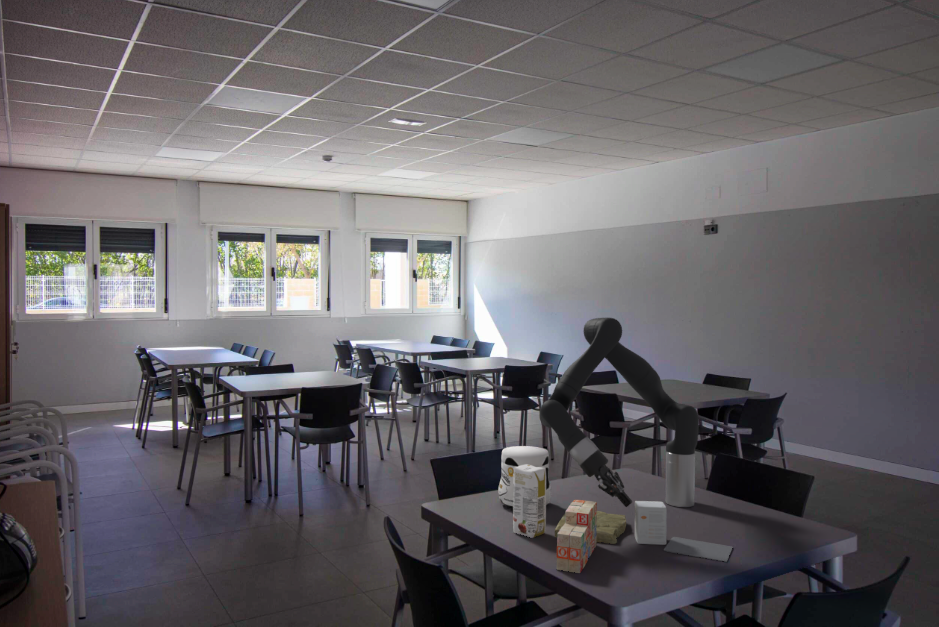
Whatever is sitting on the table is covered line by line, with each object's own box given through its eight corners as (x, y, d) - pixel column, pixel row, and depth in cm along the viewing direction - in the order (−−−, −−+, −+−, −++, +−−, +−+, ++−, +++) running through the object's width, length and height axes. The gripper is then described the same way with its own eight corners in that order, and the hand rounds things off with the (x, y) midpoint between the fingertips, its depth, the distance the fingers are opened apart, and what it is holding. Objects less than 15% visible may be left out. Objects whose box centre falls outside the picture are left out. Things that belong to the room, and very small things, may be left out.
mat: (672, 537, 191) (672, 536, 191) (732, 547, 183) (732, 546, 183) (663, 551, 180) (663, 549, 180) (726, 562, 173) (726, 561, 173)
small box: (662, 538, 190) (663, 501, 190) (666, 545, 185) (667, 507, 185) (634, 537, 191) (634, 500, 191) (636, 544, 186) (637, 506, 185)
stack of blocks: (580, 574, 164) (581, 524, 164) (555, 570, 167) (556, 521, 167) (596, 545, 184) (597, 500, 184) (574, 542, 187) (574, 498, 187)
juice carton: (533, 540, 188) (533, 472, 188) (509, 532, 194) (509, 467, 193) (549, 533, 193) (549, 467, 193) (525, 526, 199) (525, 462, 199)
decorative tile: (553, 538, 191) (553, 526, 191) (567, 517, 209) (567, 506, 209) (620, 547, 184) (620, 534, 184) (628, 525, 203) (628, 513, 203)
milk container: (487, 504, 221) (487, 450, 221) (523, 495, 233) (523, 443, 232) (526, 517, 208) (526, 459, 208) (562, 506, 220) (562, 451, 220)
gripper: (589, 453, 189) (632, 502, 184) (604, 444, 201) (644, 491, 195) (571, 469, 192) (613, 519, 186) (587, 460, 204) (626, 506, 198)
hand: (629, 504), depth 191 cm, fingers closed
